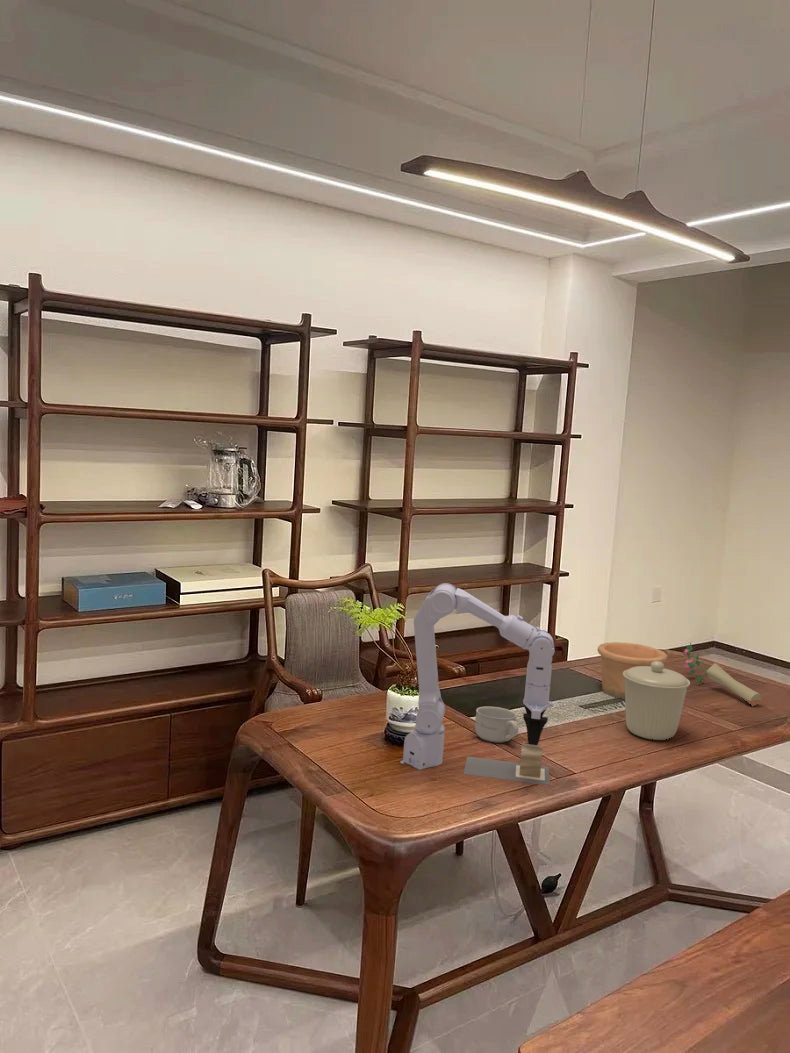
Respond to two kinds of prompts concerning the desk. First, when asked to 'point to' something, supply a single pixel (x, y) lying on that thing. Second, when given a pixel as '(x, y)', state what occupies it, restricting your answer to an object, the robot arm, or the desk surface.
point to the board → (503, 770)
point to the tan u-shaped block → (530, 760)
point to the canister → (654, 700)
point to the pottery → (624, 663)
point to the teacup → (495, 724)
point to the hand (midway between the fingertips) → (532, 738)
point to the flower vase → (719, 677)
